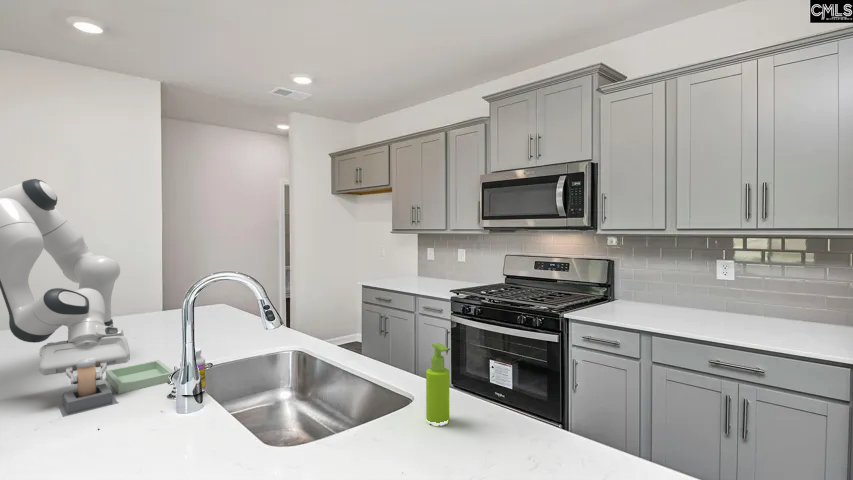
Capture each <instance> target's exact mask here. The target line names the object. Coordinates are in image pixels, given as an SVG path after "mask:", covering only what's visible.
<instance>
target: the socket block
mask: <svg viewBox="0 0 853 480" xmlns="http://www.w3.org/2000/svg"><path fill="white" fill-rule="evenodd" d="M56 404H57V407H58V409H59V411H60V413H61V417H63V418H64V417H69V416H73V415H77V414H81V413H85V412H89V411H92V410H97V409H100V408H106V407H108V406H112V405H117V404H119V402H118V400H117V399H116V397H115V396H114V395H113V392H112V390H111V389H110V388H109V387H108V385H107V384H106V383H101V384H96V394H93V395H89V396H84V397H80V398H78V388H77V389H74V390H69V391H64V392H62V401H61V402H58V403H56Z"/></svg>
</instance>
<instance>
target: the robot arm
mask: <svg viewBox="0 0 853 480" xmlns="http://www.w3.org/2000/svg"><path fill="white" fill-rule="evenodd" d="M57 203H58V196H57V194H56V191H54V189H53V188H52V187H51V186H50V185H48V184H47V183H46V182H45V181H43V180H41V179H38V178H32V179H28V180H27V179H26V180H24V181H22V182H21V183H18V184H15V185H12V186H9V187H6V188H4V189H2V190H0V292H1V294H2V298H3V300H4V303H5V305H6V308H7V312H8V317H9V319H8V320H9V321H8V324H9V330H10V332H11V333H12V335H13V336H14V337H16V338H17V339H18V340H20V341H23V342H25V343H34V344H35V343H41V342H44V341H47V340H48V339H49V338H50V337H51V336H52V335H53V334H54V333H55V332H56V331H57V330H58V329H59V328H61V327H62V326H66V327H67V340H61V341H56V342H52V341H51V342H48V343H46V344H44V345H43V346H41V347H40V349H39V353H38V354H39V357H40V360H39V372H40V374H41V375H43V376H50V375H57V374H63V373H65V375H66V376H67V377H68V378H69V380H70V384H71V386H72V385H78V377H77V375H74V372H77V367H76V361H78V360H81V359H86V358H96V364H95V367H96V368H100V370H99V371H96V381H102V380H103V375H104V373H106V370H108V367H107V366H113V365H121V364H126V363H129V361H130V359H131V353H130V345H129V343H128V339H127V337H125V336H124V335H125V334H124V330H123V328H122V327H120V326H119V327H117V326H114V322H113V321H114V320H113V319H112V295H113V290H114V286H115V283H116V281H117V280H118V279H119V277H120V275H121V274H120V273H121V267H120V265H119V263H118V262H117V261H116V260H115V259H112V258H111V257H110V256H106V255H102V254H95V253H93V251H91V250H90V249H89V247H88V246H87V243H86V242H85V240H84V236H83V234H81V232H79V230H78V229H77V228H76V227H75V226H74V225H73V223H71V222H70V221H69V220H68V218H67V217H66V216H64V215H63V214H62V213H61V211H59V210H58V209H57V208H56V207H55V206H57ZM43 250H45V251H46V252H47V253H48V254H49V255H50V256H51V257H52V259H53V260H54V261H55V263H56V264H57V267H59V268H60V270H61V271H62V274H63V276H64V277H65V278H67V279H68V280H69V281H72V282H73V283H77V284H78V289H76V290H72V289H66V288H63V287H62V288H61V287H60V288H59V287H55V288H51V289H49V290H47V291H46V292H44V293H42V295H40V296H39V297H37V298H36V299H35V298H34V296H33V294H32V291H31V288H30V287H31V286H30V285H29V277H30V273H31V270H32V269H33V267H34V265H35V263H36V262H37V261H38V259H39V257H40V256H41V254H42V253H43Z"/></svg>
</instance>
